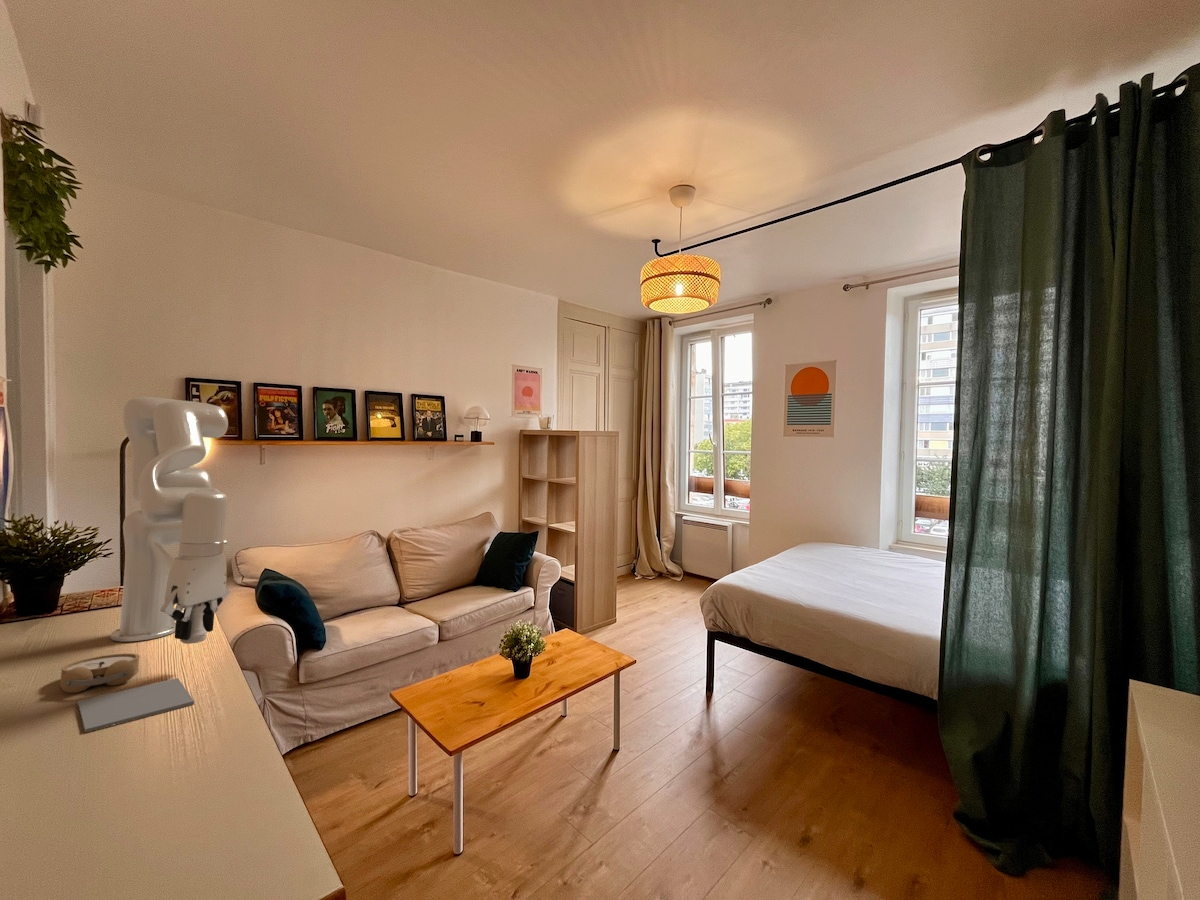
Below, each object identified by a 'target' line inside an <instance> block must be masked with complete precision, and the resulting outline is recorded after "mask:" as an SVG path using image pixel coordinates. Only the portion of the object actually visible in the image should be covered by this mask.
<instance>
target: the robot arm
mask: <svg viewBox="0 0 1200 900" xmlns="http://www.w3.org/2000/svg"><path fill="white" fill-rule="evenodd" d="M122 413H123V414H122V421H123V427H124V430H125V432H126V436H127V438H128V440H129V443H130V445H131V449H132V466H131V467H132V473H131V477H132V478H131V490H132V491H131V492H132V495H133V496H132V497H133V498H134V500H135V501H137V502H138V503H139V505H140V509H139V510H138V509H137V510H134V511H133V512H131V513H129V514H128V515H126V517H125V518H124V520H123V522H122V523H123V524H122V530H123V531H122V533H123V541H124V552H125V554H124V555H125V556H124V557H125V558H124V570H123V571H124V572H123V574H124V575H123V585H122V586H123V587H122V599H121V610H120V622H119V623H120V625H119V628H118V629H115V630H113V631H112V632H111V633H110V639H111V640H112V641H114V642H125V643H126V642H139V641H148V640H154V639H157V638H162V637H165V636H169V635H171V634H173V633H174V638H175V639H177V640H180V639H182V640H188V639H189V638H190V634H191V623H192V621H191V620H189V617H190V614H191V610H192V607H193V605H196V604H200V603H203V602H204V604H205V605H206V608H205V609H204V610H203V613H204V615H203V625H204V627H205V629H206V631H207V633H211V632H212V631H214V623H215V622H214V621H215V613H217V612H218V610H219V607H220V605H221V604H222V602H223V601H224V599H226V598H227V597H228V596H229V594H230V590H229V589H228V587H227V575H228V574H227V569H228V567H227V559H226V554H225V553H224V547H226V546H227V540H226V539H225V537H226V536H225V535H226V525H227V516H228V515H227V514H228V503H229V498H228V495H227V494H225V493H224V492H221V490H219V489H217V488H216V487H213V484H212V478H211V476H210V474H209V472H208V471H206V470H205V469H203V468H199V467H193V466H196V465H198V464H199V463H200V462H202V461H203V460H204V459H205V458H206V455H207V452H206V451H207V449H206V446H205V441H204V438H212V439H218V438H222V437H223V436H224V435H225V434H226V433H227V431H228V427H229V420H228V416H227V413H226V411H225V410H224V409H223V408H222V407H221V406H219V405H215V404H211V403H206V402H200V401H192V400H190V401H189V400H181V399H174V398H173V399H171V398H165V397H158V396H157V397H155V396H154V397H153V396H141V397H140V396H139V397H138V396H137V397H133V398H131V399H128V400H127V401H126V403H125V405H124V407H123V412H122ZM171 545H178V546H179V547H178V554H177V555H178V556H177V557H174V558H173V556H172V555H171V554H170V553H169V552H168V551H166V549H164V547H165V546H171Z"/></svg>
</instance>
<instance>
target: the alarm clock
mask: <svg viewBox="0 0 1200 900" xmlns="http://www.w3.org/2000/svg"><path fill="white" fill-rule="evenodd" d="M139 663H140V655H139V654H138V653H131V652H129V653H113V654H108V655H107V654H106V655H100V656H94V657H93V656H92V657H89V658H86V659H85V658H84V659H81V660H78V661H73V662H71V663H68V664H66V665H64V666H63V667H61V669H60V670H61V675H60V681H59V685H60V687H61V690H63V691H64V692H66V693H69V694H78V693H81V692H83V691H86V690H87V689H89V688H90V687H93V686H98V685H103V684H106V685H108V686H113V687H115V686H121V685H122V684H125V683H127V682H128V681H129V680H131V678H132V677H133V676H134V675H136V674H137V673H138V672H139V670H140V669H139V665H140V664H139Z"/></svg>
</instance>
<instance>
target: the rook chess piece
mask: <svg viewBox="0 0 1200 900" xmlns="http://www.w3.org/2000/svg"><path fill="white" fill-rule="evenodd" d="M205 608H206V605H205V604H204V602H203V603H200V604H196V605H193V607H192V610H191V614H190V617H189V620H191V621H192V623H191V634H190V638H189V639H188V640H182V639H179V641H180V642H181V643H182V644H184V645H185V644H186V645H187V644H189V645H190V644H197V643H201V642H203V641H204V640H206V639H207V635H206V634H207V633H208V632H207V631H206V629H205V627H204V625H203V615H204V613H203V610H204V609H205Z"/></svg>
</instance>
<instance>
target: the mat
mask: <svg viewBox="0 0 1200 900" xmlns="http://www.w3.org/2000/svg"><path fill="white" fill-rule="evenodd" d="M192 705H193V706H194V705H195V700H194V699H193V697H192V696H191V694H190V693H189V691H188V690H187V689H186V687H185V686H184V684H183V683H182V682H181V681H180V678H178V677H176V678H172V679H167V680H163V681H158V682H153V683H149V684H146V685H141V686H136V687H133V688H128V689H125V690H124V689H123V690H119V691H116V692H111V693H106V694H102V695H97V696H93V697H88V698H84V699H80V700H77V707H78V706H79V708H78V711H79V710H80V712H79V715H80V714H81V716H80V719H82V720H81V723H82V722H83V723H82V726H83V727H82V728H83V731H84V733H85V734H87V733H90V732H94V731H93V730H95V731H99V730H102V729H101V728H103V729H105V728H104V727H106V728H108V727H107V726H110V727H112V726H111V725H113V724H118V723H122V722H125V723H128V722H127V721H129V722H132V721H131V720H133V721H135V720H136V719H137V720H140V719H144V718H148V717H151V716H155V715H158V714H162V713H166V712H170V711H174V710H178V709H183V708H186V707H189V706H192ZM143 717H144V718H143ZM122 724H123V723H122ZM118 725H119V724H118ZM98 729H99V730H98ZM86 732H87V733H86Z"/></svg>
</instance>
